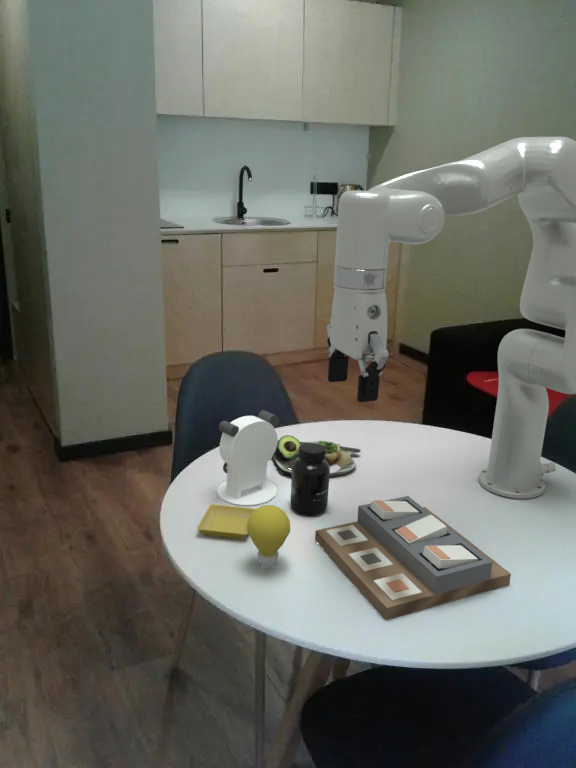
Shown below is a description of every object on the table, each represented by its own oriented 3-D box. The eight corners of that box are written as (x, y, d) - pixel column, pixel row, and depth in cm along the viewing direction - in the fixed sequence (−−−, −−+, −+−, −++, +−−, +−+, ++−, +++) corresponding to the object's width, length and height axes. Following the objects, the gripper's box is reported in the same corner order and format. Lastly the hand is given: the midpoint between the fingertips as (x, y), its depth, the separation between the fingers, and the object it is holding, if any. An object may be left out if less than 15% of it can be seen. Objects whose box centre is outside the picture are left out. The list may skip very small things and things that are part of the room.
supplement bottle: (324, 519, 119) (328, 457, 115) (286, 514, 120) (289, 453, 116) (330, 501, 125) (333, 442, 122) (294, 497, 127) (296, 438, 123)
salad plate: (348, 442, 153) (349, 424, 152) (375, 477, 136) (377, 456, 135) (265, 448, 149) (265, 428, 147) (282, 484, 132) (283, 463, 131)
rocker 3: (458, 553, 103) (461, 544, 103) (475, 567, 100) (478, 557, 99) (422, 554, 100) (425, 544, 100) (438, 568, 97) (441, 559, 96)
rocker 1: (403, 508, 116) (406, 500, 116) (417, 519, 113) (419, 511, 112) (370, 508, 113) (372, 499, 113) (383, 519, 110) (385, 510, 109)
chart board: (424, 517, 121) (425, 505, 120) (509, 585, 102) (511, 571, 101) (314, 540, 112) (315, 528, 111) (385, 620, 93) (387, 606, 92)
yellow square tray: (246, 545, 111) (247, 534, 110) (196, 539, 112) (196, 528, 111) (257, 519, 119) (257, 508, 118) (210, 514, 120) (210, 503, 120)
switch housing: (406, 511, 119) (408, 495, 118) (489, 579, 100) (492, 561, 99) (357, 521, 115) (358, 505, 114) (434, 594, 96) (436, 576, 95)
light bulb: (257, 581, 101) (258, 522, 98) (239, 558, 106) (240, 502, 103) (296, 570, 104) (299, 513, 101) (277, 549, 109) (279, 494, 106)
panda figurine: (253, 472, 136) (254, 403, 131) (291, 493, 128) (294, 419, 123) (205, 489, 128) (204, 416, 123) (242, 512, 120) (243, 435, 116)
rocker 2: (431, 521, 109) (431, 513, 109) (446, 533, 106) (446, 525, 105) (395, 537, 107) (394, 529, 106) (409, 550, 104) (409, 542, 103)
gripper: (414, 288, 91) (402, 407, 97) (354, 269, 106) (347, 372, 112) (366, 290, 88) (356, 412, 94) (311, 270, 104) (306, 376, 109)
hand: (351, 390), depth 103 cm, fingers open, 9 cm apart
